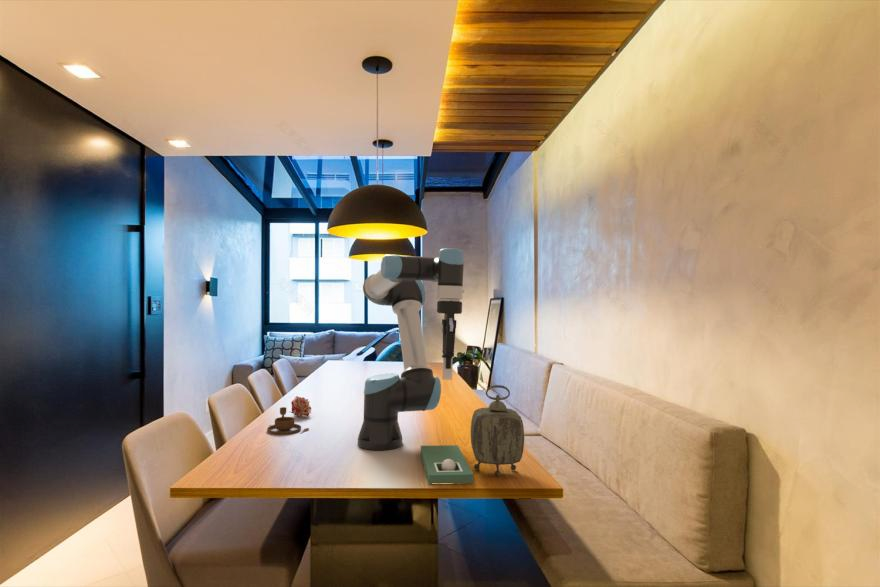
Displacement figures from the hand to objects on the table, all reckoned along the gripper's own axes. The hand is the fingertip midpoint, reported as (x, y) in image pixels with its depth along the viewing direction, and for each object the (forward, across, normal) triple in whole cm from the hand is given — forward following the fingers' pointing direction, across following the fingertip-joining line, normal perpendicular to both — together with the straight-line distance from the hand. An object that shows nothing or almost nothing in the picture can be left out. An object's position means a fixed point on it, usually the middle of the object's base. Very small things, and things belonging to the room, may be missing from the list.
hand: (447, 379), depth 137 cm
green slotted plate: (+26, -2, 0) cm, 26 cm away
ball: (+23, -8, 0) cm, 24 cm away
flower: (+28, +61, +53) cm, 86 cm away
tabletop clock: (+26, -8, -14) cm, 30 cm away
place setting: (+28, +43, +55) cm, 75 cm away
